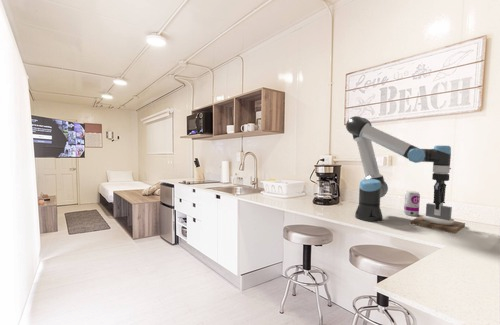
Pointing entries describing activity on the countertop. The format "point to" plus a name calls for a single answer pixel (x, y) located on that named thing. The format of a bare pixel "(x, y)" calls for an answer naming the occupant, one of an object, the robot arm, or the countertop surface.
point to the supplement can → (412, 203)
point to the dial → (442, 219)
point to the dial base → (439, 225)
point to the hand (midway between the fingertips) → (438, 214)
